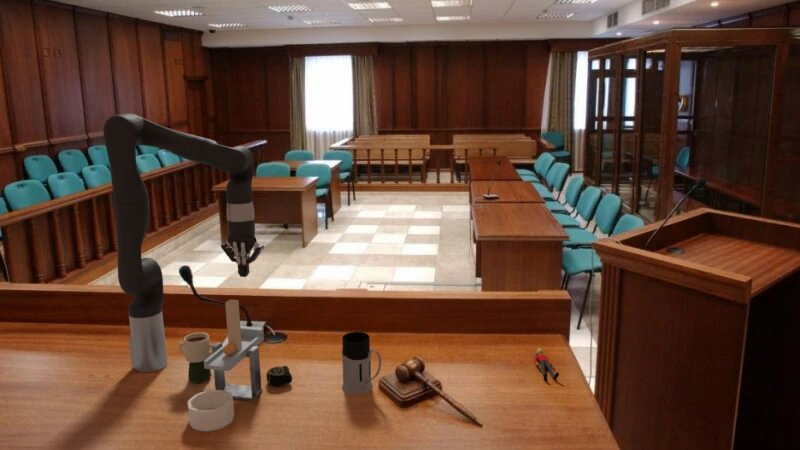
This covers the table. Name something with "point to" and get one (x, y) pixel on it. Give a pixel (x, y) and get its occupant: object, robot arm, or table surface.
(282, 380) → the tape measure
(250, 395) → the stand
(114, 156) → the robot arm
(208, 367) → the tipping board
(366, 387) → the glass holder
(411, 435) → the table surface
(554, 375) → the person figure
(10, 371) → the table surface
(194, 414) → the cup
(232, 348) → the ball
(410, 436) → the table surface
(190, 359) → the character mug
